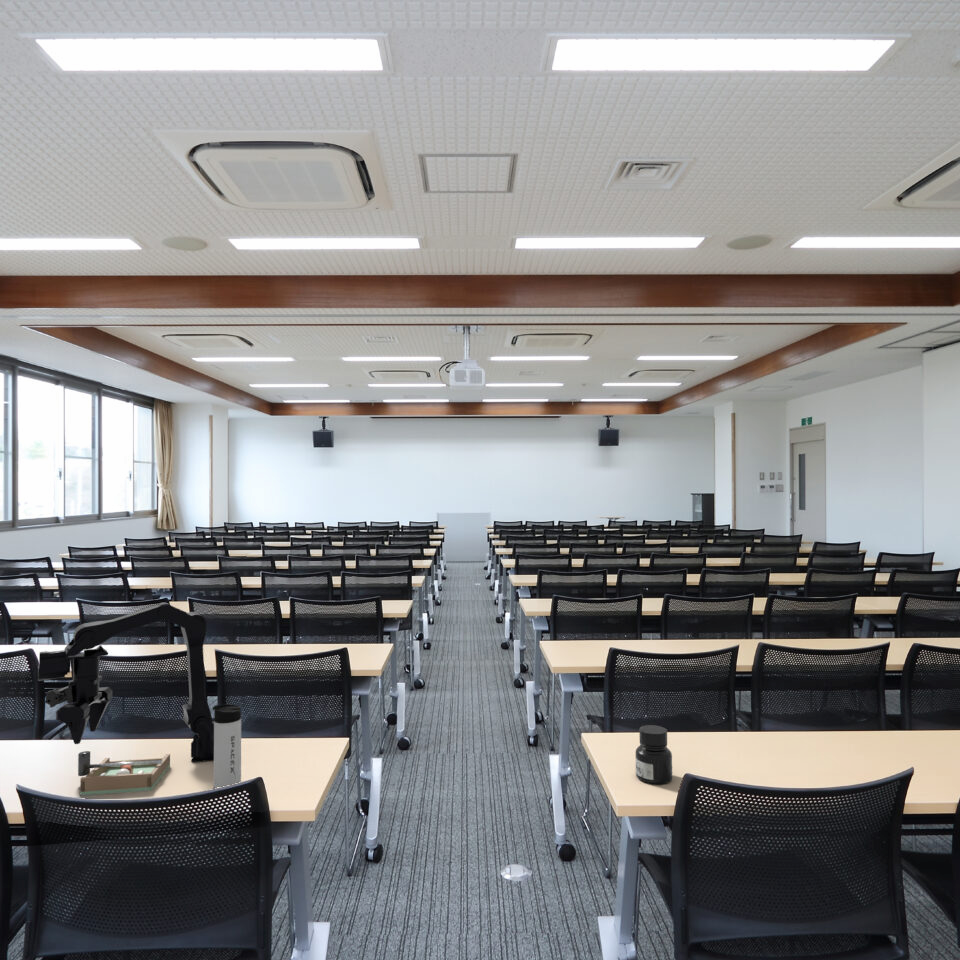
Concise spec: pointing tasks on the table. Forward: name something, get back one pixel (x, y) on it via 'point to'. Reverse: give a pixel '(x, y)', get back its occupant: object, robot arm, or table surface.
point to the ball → (123, 772)
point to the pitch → (124, 777)
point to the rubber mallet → (106, 764)
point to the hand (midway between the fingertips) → (85, 737)
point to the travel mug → (227, 745)
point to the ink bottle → (653, 756)
